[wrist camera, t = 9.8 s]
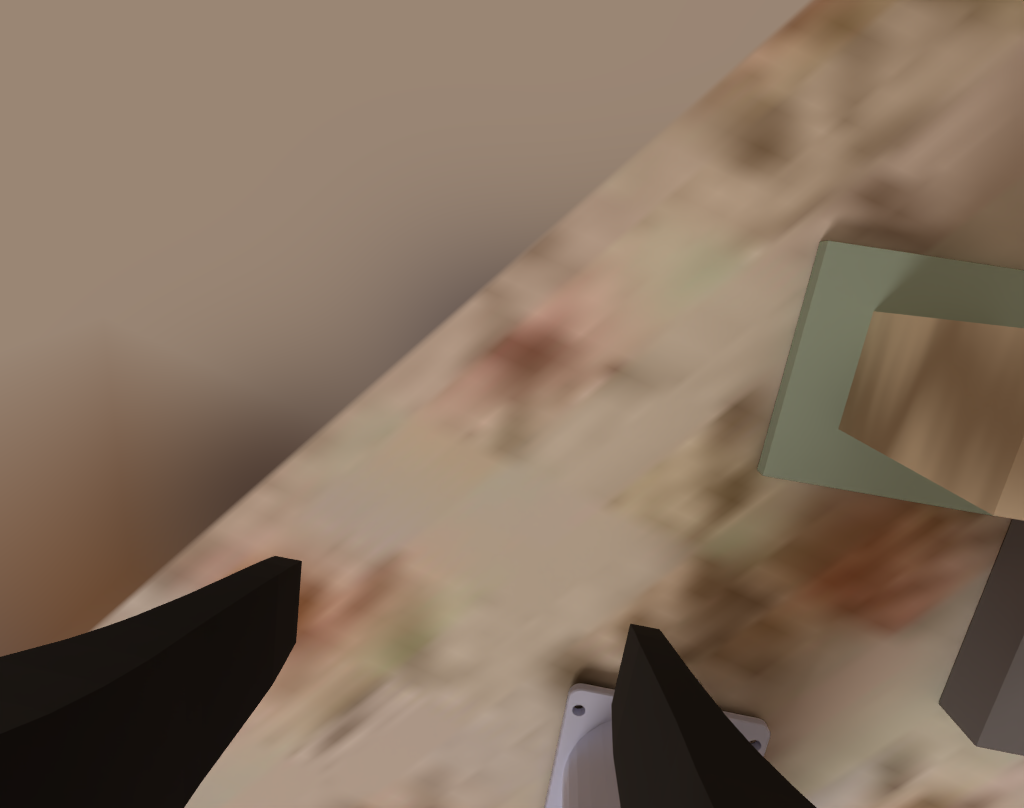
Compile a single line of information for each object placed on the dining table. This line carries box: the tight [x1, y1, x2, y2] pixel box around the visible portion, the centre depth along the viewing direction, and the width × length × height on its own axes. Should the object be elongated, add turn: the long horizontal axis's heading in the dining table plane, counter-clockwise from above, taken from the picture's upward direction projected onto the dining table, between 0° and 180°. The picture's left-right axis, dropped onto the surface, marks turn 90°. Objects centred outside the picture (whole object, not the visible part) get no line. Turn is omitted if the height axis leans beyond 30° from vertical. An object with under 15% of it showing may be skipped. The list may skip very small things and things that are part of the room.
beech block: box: [838, 311, 1024, 521], centre depth 15 cm, size 4×4×7 cm
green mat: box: [757, 241, 1024, 517], centre depth 19 cm, size 8×8×1 cm
